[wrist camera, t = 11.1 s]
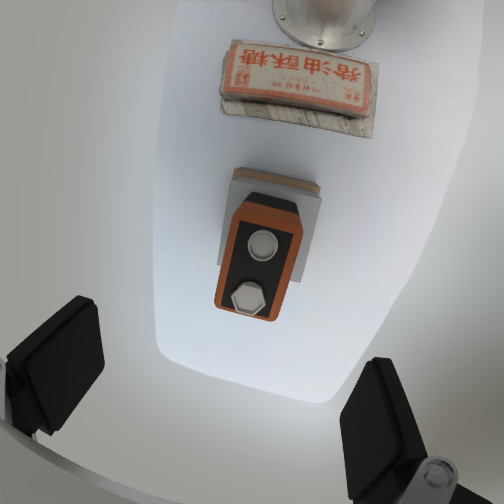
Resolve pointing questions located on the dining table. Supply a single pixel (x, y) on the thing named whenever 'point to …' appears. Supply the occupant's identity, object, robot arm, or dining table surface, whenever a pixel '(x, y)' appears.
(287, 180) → the bottom block
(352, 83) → the packaged product
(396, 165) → the dining table surface
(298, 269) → the top block
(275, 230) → the battery
